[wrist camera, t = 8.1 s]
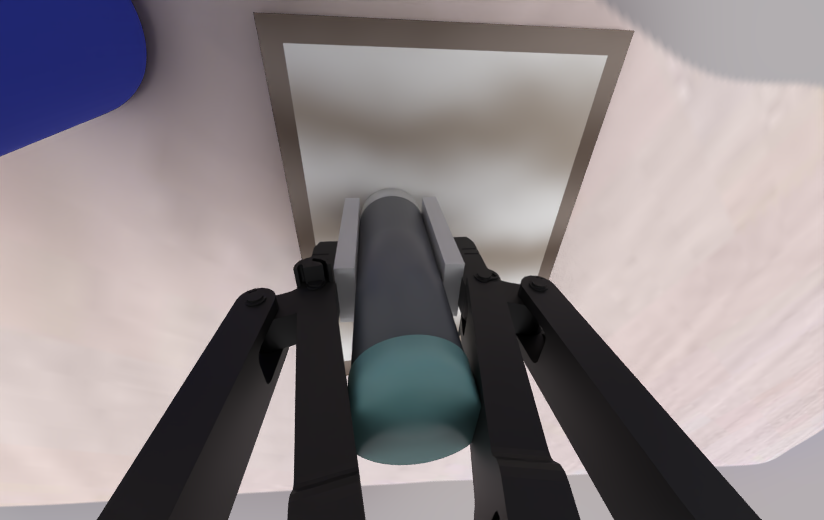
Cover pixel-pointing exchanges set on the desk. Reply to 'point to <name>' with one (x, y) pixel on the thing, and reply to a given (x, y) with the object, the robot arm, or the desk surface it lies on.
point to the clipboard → (440, 125)
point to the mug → (65, 64)
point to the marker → (405, 344)
